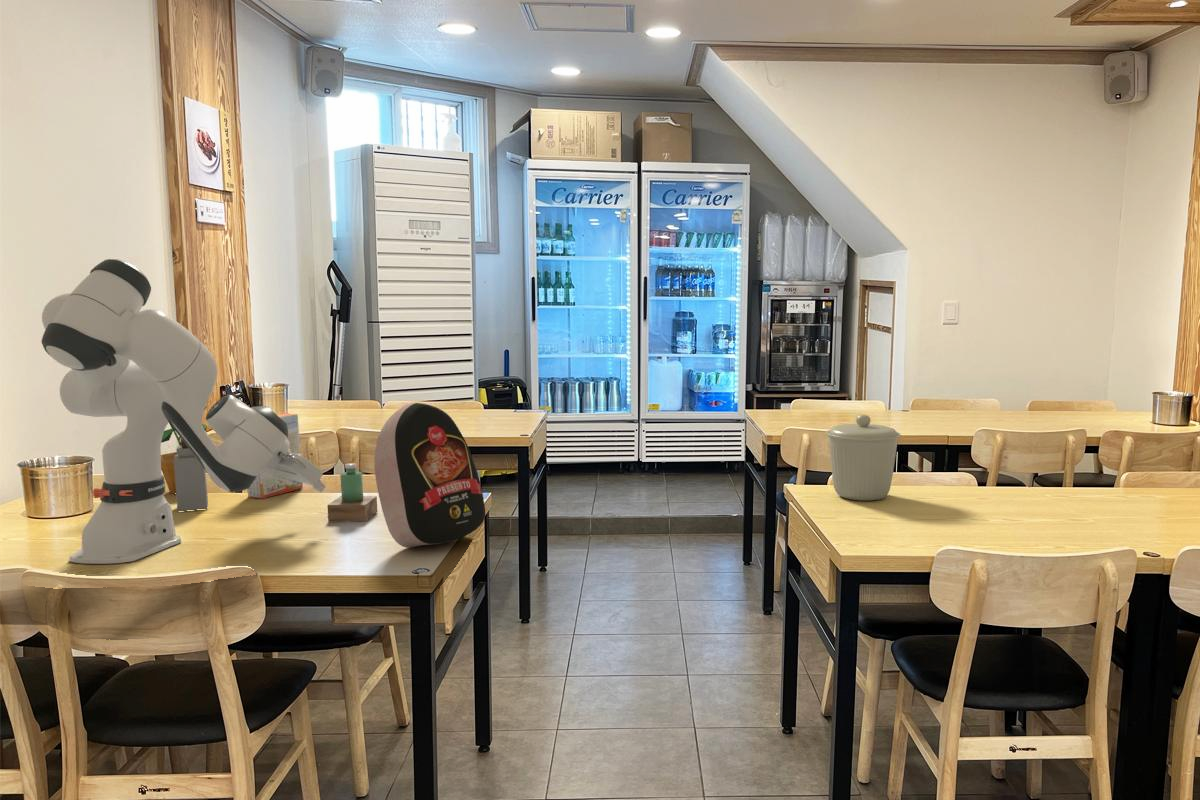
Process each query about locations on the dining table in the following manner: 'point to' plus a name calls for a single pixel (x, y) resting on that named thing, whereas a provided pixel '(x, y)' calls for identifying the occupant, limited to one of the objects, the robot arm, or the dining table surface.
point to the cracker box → (276, 485)
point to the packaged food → (426, 478)
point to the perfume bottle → (189, 480)
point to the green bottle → (351, 484)
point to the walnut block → (352, 509)
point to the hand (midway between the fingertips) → (311, 486)
